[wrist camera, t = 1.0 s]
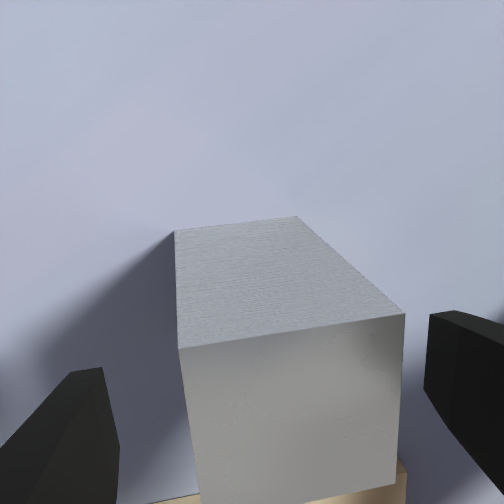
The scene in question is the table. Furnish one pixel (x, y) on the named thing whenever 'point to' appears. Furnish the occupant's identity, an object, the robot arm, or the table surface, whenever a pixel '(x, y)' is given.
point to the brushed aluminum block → (285, 365)
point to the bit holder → (372, 500)
